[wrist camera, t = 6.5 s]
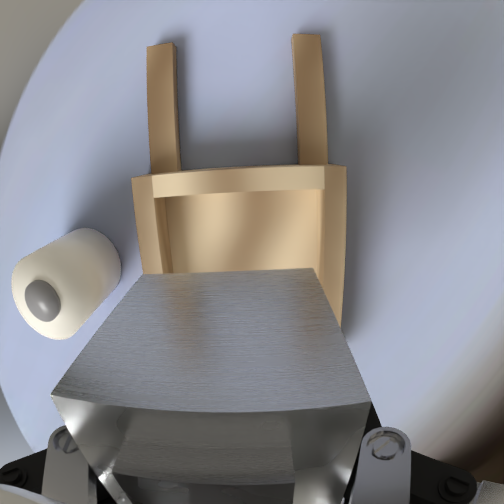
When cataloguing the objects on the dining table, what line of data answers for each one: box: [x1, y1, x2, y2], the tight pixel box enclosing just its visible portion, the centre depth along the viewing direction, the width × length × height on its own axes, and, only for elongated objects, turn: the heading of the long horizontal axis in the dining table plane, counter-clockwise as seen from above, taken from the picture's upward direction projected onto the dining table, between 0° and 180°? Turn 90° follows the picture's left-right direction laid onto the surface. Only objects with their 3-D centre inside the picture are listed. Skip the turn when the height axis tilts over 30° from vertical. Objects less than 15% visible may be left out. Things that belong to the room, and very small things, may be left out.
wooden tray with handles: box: [131, 34, 347, 327], centre depth 18 cm, size 11×21×3 cm, turn 3°
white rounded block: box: [12, 228, 121, 340], centre depth 18 cm, size 5×5×6 cm
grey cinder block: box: [50, 268, 372, 504], centre depth 8 cm, size 6×8×7 cm
